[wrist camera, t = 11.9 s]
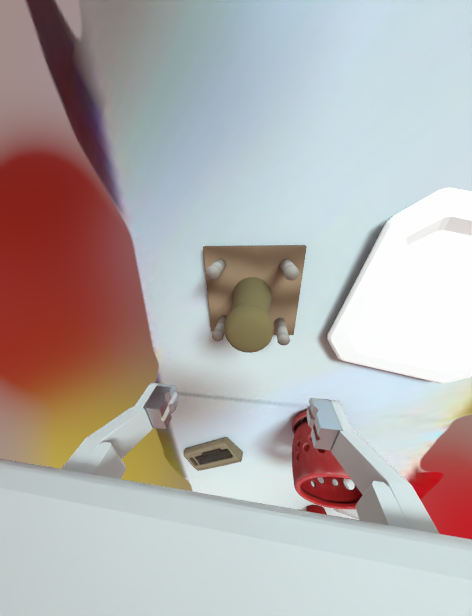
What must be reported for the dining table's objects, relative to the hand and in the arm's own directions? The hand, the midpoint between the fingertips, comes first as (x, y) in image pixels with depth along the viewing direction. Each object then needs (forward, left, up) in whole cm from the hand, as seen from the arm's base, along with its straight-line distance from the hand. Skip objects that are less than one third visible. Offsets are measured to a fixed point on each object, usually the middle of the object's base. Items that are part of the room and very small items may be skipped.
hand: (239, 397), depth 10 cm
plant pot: (+31, +15, -19) cm, 40 cm away
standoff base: (0, 0, -19) cm, 19 cm away
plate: (+1, +26, -20) cm, 33 cm away
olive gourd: (0, 0, -18) cm, 18 cm away
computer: (+49, -10, -20) cm, 54 cm away
